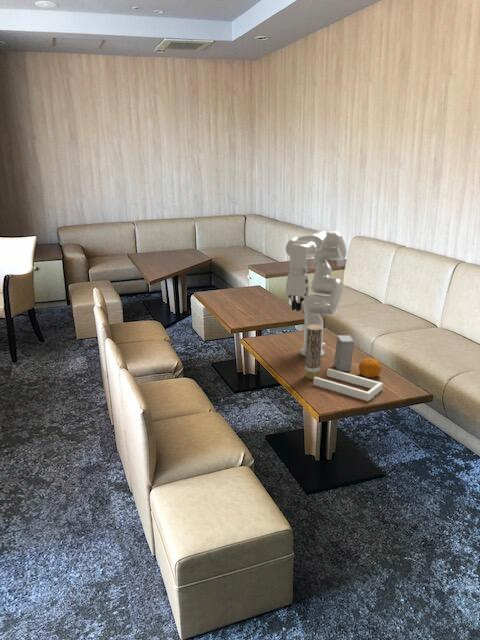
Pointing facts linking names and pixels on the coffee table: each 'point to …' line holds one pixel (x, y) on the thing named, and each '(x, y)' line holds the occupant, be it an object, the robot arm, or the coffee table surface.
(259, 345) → the coffee table surface
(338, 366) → the skincare box
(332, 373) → the u-rest
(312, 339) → the paper tube
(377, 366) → the fruit
